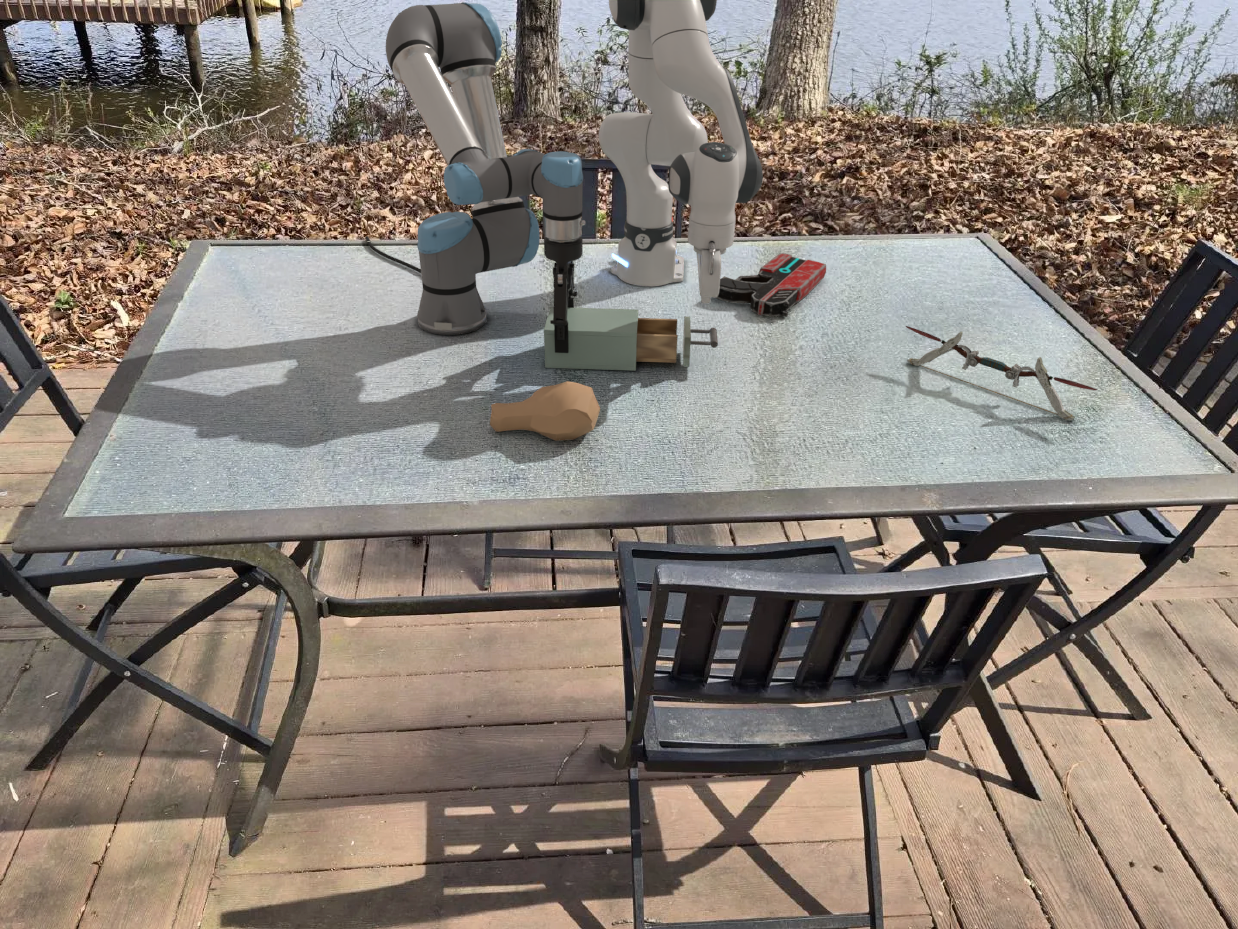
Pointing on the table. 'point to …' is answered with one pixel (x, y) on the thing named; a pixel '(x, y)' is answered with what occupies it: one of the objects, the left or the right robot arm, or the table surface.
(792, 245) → the table surface
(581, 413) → the squash
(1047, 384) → the bow
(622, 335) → the grey box
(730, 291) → the gun
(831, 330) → the table surface
